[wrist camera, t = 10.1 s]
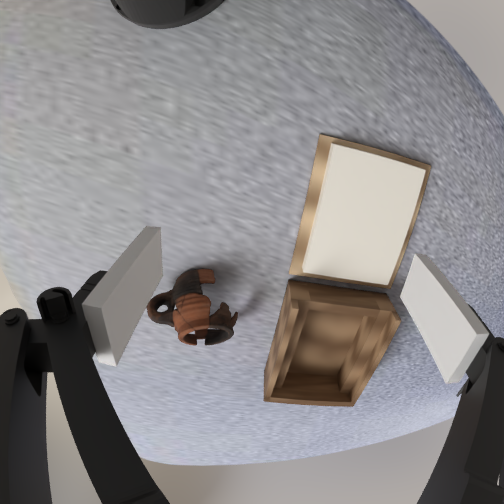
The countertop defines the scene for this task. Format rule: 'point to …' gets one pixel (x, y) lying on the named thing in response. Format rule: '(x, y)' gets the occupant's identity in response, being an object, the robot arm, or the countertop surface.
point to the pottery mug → (193, 310)
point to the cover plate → (362, 215)
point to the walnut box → (327, 344)
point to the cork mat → (313, 199)
